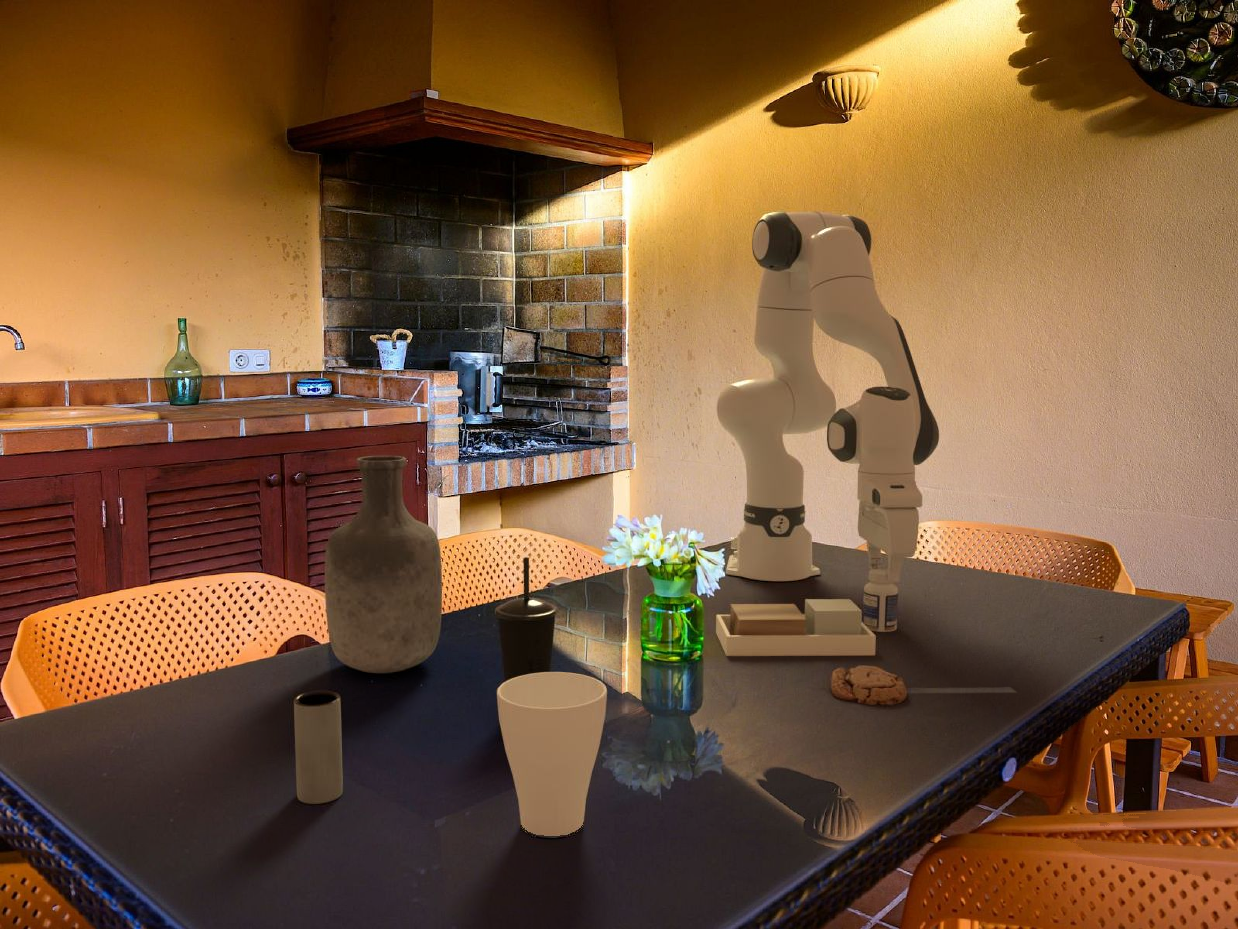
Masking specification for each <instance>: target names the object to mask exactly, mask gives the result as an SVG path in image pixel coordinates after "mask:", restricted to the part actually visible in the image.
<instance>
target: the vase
mask: <svg viewBox="0 0 1238 929" xmlns="http://www.w3.org/2000/svg"><path fill="white" fill-rule="evenodd" d="M355 461H356V463H355V464H356V467H357V468H358V469H359V470H360V477H361V491H362V492H361V495H362V497H361V504H360V506H359V509H358V511H357V513H356V514H355V515H354V516H353V517H352V518H351V520H350V521H349V522H346V523H345V524H342V525H341V526H339V527H337V528H336V529H335V530H334V531H332V532H331V534H330V535H329V538H328V540H327V544H326V549H325V556H324V563H325V564H324V595H325V596H324V597H325V598H324V599H325V600H324V601H325V614H326V615H325V616H326V623H327V625H326V626H327V632H328V638H329V643H330V646H331V649H332V652H333V653H334V655H335V657H336V658H337V659H338V660H339V661H340V662H341V663H342V664H343V665H344V664H345V665H346V666H348V667H349V668H352V669H355V670H357V671H361V672H364V673H371V674H392V673H397V672H401V671H405V670H408V669H411V668H413V667H415V666H418V665H419V664H421V663H422V662H425V661H426V660H427V659H428V658H429V657H430V656H431V655H432V654H433V653H434V651H435V649H436V647H437V645H438V642H439V638H440V634H441V625H442V624H441V623H442V613H443V612H442V609H443V576H442V575H443V572H442V556H441V554H442V553H441V547H440V541H439V539H438V536H437V533H436V531H434V530H433V528H432V527H431V526H430V525H428V524H426V523H425V522H421V521H420V520H417V519H415V518H414V517H413V516H412V515H411V513H410V512H409V511H408V510H407V508H406V506H405V503H404V498H403V485H402V484H403V469H404V468H405V467H407V458H406V457H404V456H398V455H371V456H369V455H368V456H362V457H361V456H360V457H358V458H356V460H355Z"/></svg>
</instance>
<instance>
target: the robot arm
mask: <svg viewBox="0 0 1238 929" xmlns="http://www.w3.org/2000/svg"><path fill="white" fill-rule="evenodd" d="M751 247H752V248H751V249H752V255H753V258H754V260H755V261H756V263H757V264H758V265H759V266H760V267H761V268H763V270H762V273H761V277H760V282H759V288H758V295H757V304H756V312H755V314H756V315H755V326H754V337H753V338H754V340H753V342H754V346H755V349H756V350H757V351H758V352H759V353H760V354H761V355H762V356H763V357H765V358H766V359H768V360H769V362H770V363H771V367H772V370H773V372H772V373H773V378H766V379H765V378H763V379H761V378H760V379H758V378H757V379H755V378H754V379H751V378H750V379H744V380H742V381H741V380H740V381H736V382H733V383H730V384H727V385H726V386H725V387H723V389H722V391H721V392H720V394H719V396H718V399H717V401H716V402H717V403H716V414H717V419H718V420H719V423H720V424H721V425H720V426H722V427H723V429H724V430H725V431H726V432H728V433H729V434H730V435H731V436H732V437H733V438H734V440H735V441H736V443H737V445H738V446H739V448H740V450H741V453H742V456H743V458H744V463H745V468H746V469H745V470H746V502H745V503H744V509H743V521H744V523H743V525H742V527H741V529H739V532H738V533H737V536H733V537H731V538H730V548H731V549H732V550H735V551H733V554H730V555H729V558H728V562H727V565H726V570H725V575H730V576H738V577H743V578H746V579H750V580H758V581H766V582H767V581H768V582H791V581H792V582H793V581H799V580H804V579H807V578H809V577H812V576H817V575H820V574H821V570H820V568H818V567H816V566H815V565H813V538H812V535H813V534H812V532H810V531H809V530H808V529H807V528H806V527H805V524H804V523H805V521H806V519H805V518H806V506H805V504H804V480H805V478H804V476H805V475H804V467H803V465H802V463H801V462H800V461H799V459H797V458H796V457H794V456H792V455H791V454H789V453H788V452H787V450H786V448H785V444H784V436H783V435H797V434H798V435H799V434H809V433H812V432H813V433H814V432H816V431H820V430H822V429H825V428H827V429H826V443H827V444H826V445H827V448H828V450H829V451H830V453H831V454H832V456H834V457H835V459H837V460H838V461H839V462H840V463H846V464H850V465H851V464H855V465H856V464H859V465H858V468H857V500H858V501H859V503H858V516H857V532H858V536H859V537H860V538H862V539H863V540H864V541H866V549H867V553H868V559H869V560H868V567H869V568H870V570H874V569H883V558H882V552H884V553H885V554H887V560H888V562H887V563H888V564H887V568H886V569H885V570H886V579H887V580H888V581H890V582H893V583H899V582H900V581H901V570H902V567H903V566H904V562H905V558H912V557H914V555H915V553H916V551H917V546H918V536H919V526H920V525H919V524H920V514H919V510H918V508H922V506H923V494H922V492H921V491H920V489H919V488H918V486H917V481H916V467H915V466H919V465H921V464H923V463H924V462H926V461H927V459H929V458H930V456H931V455H932V454H933V453H934V452H935V450H936V448H937V447H938V446H939V441H940V429H939V426H938V422H937V420H936V418H935V416H934V413H933V411H932V409H931V408H930V406H929V404H928V402H927V399H926V397H925V393H924V390H923V386H922V384H921V382H920V377H919V375H918V371H917V368H916V364H915V362H914V359H913V356H912V355H913V354H912V353H911V350H910V348H909V344H908V341H907V338H906V335H905V333H904V330H903V328H902V325H901V323H900V322H899V321H898V319H897V318H895V317H894V316H892V315H891V314H890V313H889V312H888V310H887V309H886V308H885V307H884V305H883V303H882V302H881V299H880V297H879V295H878V293H877V288H876V285H875V278H874V273H873V268H872V264H871V259H870V254H871V249H872V234H871V231H870V227H869V226H868V224H867V222H866V221H864V220H863V219H861V218H859V217H856V216H854V215H850V214H843V215H842V214H837V213H832V212H825V211H824V212H823V211H812V212H811V211H810V212H809V211H801V212H800V211H798V212H795V211H794V212H793V211H792V212H785V211H782V210H781V211H776V212H775V211H774V212H770V213H766V214H763V215H762V217H761V218H760V219H759V220H758V221H757V223H756V224H755V227H754V230H753V232H752V238H751ZM814 322H815V324H816V325H817V326H818V328H819V329H820V330H821V331H822V332H823V333H825V334H826V335H827V336H828V337H829V338H831V339H834V340H835V341H838V342H840V343H842V344H846V345H848V346H851V347H853V348H856V349H859V350H861V351H863V352H865V353H867V354H868V355H869V356H871V357H872V358H874V359H875V360H876V361H877V363H879V365H880V367H881V370H882V372H883V376H884V379H885V382H886V385H887V386H872V387H869V388H867V389H865V390H864V391H863V392H862V394H861V397H860V399H859V400H858V401H856V402H855V403H852V404H851V405H848V406H846V407H843V408H839V409H838V410H837V401H836V397H835V393H834V391H833V390H832V388H831V386H829V385H828V384H827V383H826V382H825V381H824V380H823V378H822V376H821V374H820V372H819V371H818V368H817V364H816V361H815V357H814V352H813V351H814V350H813V343H814V342H813V340H814V339H813V338H814V325H815V324H814Z"/></svg>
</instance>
